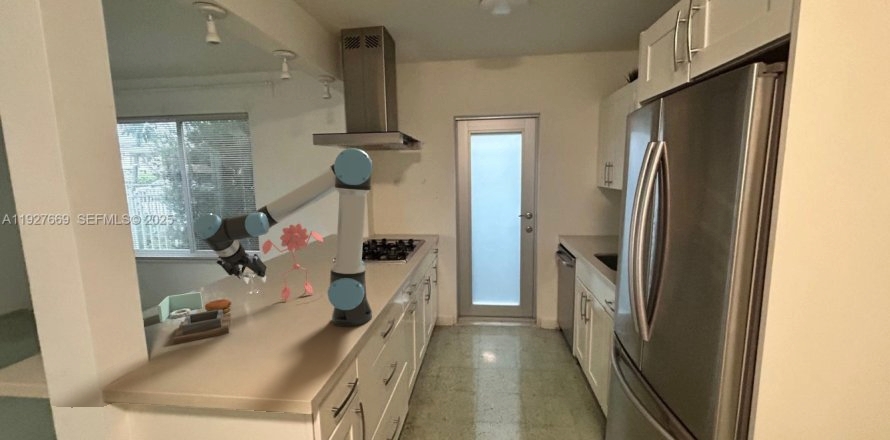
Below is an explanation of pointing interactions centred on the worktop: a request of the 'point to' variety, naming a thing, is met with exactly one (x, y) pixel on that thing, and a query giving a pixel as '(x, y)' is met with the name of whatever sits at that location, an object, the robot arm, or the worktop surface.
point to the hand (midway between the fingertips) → (256, 280)
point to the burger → (219, 305)
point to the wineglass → (249, 274)
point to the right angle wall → (179, 305)
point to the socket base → (203, 326)
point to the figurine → (293, 240)
